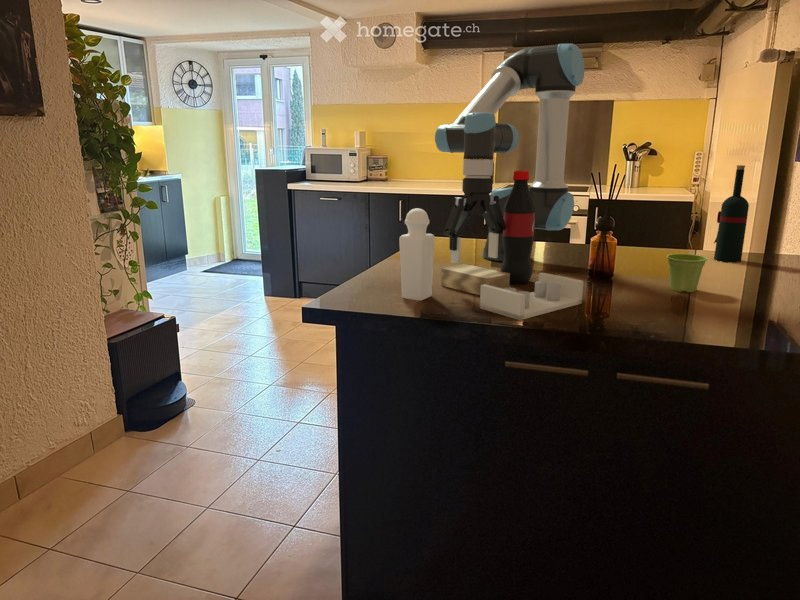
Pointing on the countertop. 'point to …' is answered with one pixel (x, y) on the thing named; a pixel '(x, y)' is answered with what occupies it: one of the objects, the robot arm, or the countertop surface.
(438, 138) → the robot arm
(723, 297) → the countertop surface
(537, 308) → the cradle
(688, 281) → the plant pot
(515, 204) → the cola bottle
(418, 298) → the white square bottle
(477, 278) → the wooden block
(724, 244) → the wine bottle
